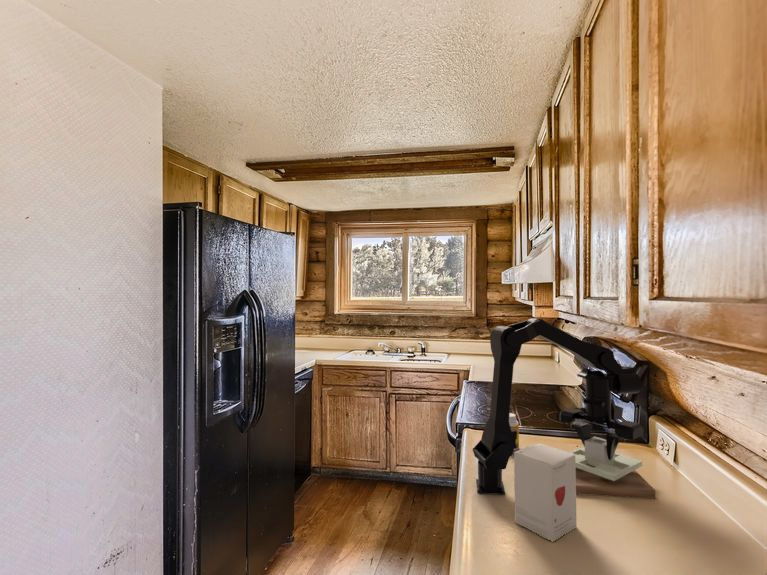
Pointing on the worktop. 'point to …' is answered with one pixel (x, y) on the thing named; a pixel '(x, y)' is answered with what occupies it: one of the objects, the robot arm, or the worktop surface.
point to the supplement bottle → (514, 427)
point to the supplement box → (545, 490)
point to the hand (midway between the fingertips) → (599, 456)
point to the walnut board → (613, 485)
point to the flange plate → (603, 460)
